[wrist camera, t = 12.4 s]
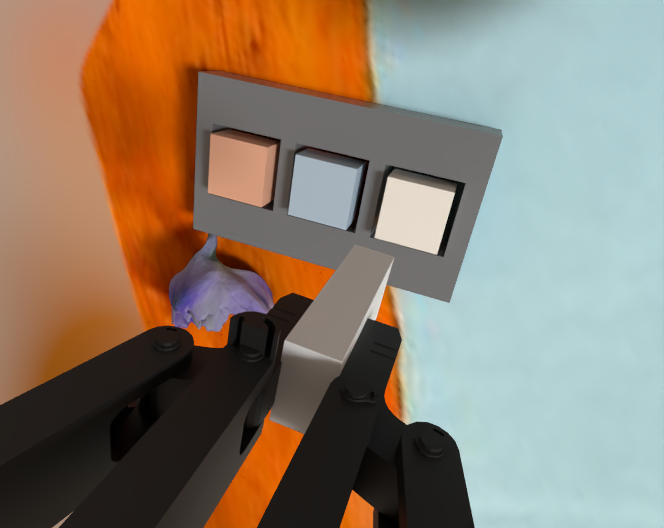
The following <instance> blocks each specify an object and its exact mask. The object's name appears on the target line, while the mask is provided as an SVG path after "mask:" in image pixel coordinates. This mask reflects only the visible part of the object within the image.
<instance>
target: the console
mask: <svg viewBox="0 0 664 528" xmlns="http://www.w3.org/2000/svg"><path fill="white" fill-rule="evenodd" d="M232 128H234V129H239V130H243V131H247V132H251V133H256V134H260V135H264V136H268V137H273V138H277V139H281V145H280V154H279V163H278V172H277V181H276V189H275V198H274V200H272V201H271V202H269V203H267V204H266V205H264V206H263V207H258V206H254V205H251V204H247V203H243V202H240V201H236V200H232V199H228V198H225V197H221V196H217V195H214V194H210V193H208V178H209V157H210V136H211V134H212V133H216V132H219V131H223V130H227V129H230V130H232ZM502 137H503V136H502V130H499V129H494V128H490V127H485V126H480V125H475V124H471V123H466V122H461V121H456V120H452V119H447V118H442V117H437V116H433V115H428V114H423V113H418V112H414V111H409V110H404V109H399V108H395V107H390V106H385V105H380V104H376V103H371V102H366V101H361V100H357V99H352V98H347V97H342V96H338V95H333V94H328V93H323V92H319V91H314V90H309V89H304V88H300V87H295V86H290V85H285V84H281V83H276V82H271V81H266V80H262V79H257V78H252V77H247V76H243V75H238V74H233V73H228V72H224V71H201V72H198V100H197V129H196V158H195V187H194V217H193V229H196V230H199V231H203V232H206V233H210V234H213V235H217V236H220V237H223V238H227V239H230V240H234V241H237V242H241V243H244V244H248V245H251V246H255V247H258V248H262V249H265V250H268V251H272V252H275V253H279V254H282V255H286V256H289V257H293V258H296V259H300V260H303V261H307V262H310V263H313V264H317V265H320V266H324V267H327V268H331V269H334V270H337V268H338V267H339V266H340V264H341V263H342V262H343V260H344V259H345V257H346V256H347V255H348V253H349V252H350V251H351V249H352V248H353V247H354V245H355V244H356V245H359V246H362V247H365V248H369V249H372V250H375V251H378V252H381V253H384V254H387V255H390V256H393V257H394V260H393V264H392V267H391V270H390V274H389V277H388V280H387V284H386V285H390V286H393V287H396V288H400V289H403V290H407V291H410V292H414V293H417V294H421V295H424V296H428V297H431V298H435V299H438V300H441V301H445V302H448V303H449V302H450V299H451V296H452V293H453V290H454V287H455V284H456V281H457V277H458V274H459V271H460V268H461V265H462V262H463V259H464V255H465V252H466V249H467V246H468V243H469V240H470V237H471V234H472V230H473V227H474V224H475V221H476V218H477V215H478V212H479V209H480V205H481V202H482V199H483V196H484V193H485V190H486V187H487V184H488V180H489V177H490V174H491V171H492V168H493V165H494V162H495V159H496V155H497V152H498V149H499V146H500V143H501V140H502ZM309 146H311V147H315V148H319V149H323V150H328V151H332V152H336V153H340V154H344V155H349V156H353V157H357V158H361V159H366V160H370V162H369V167H368V172H367V177H366V182H365V187H364V192H363V197H362V202H361V207H360V212H359V217H358V219H355V220H354V221H353V222H352V223H351V225H350V226H349V227H348V228H347V229H346V230H343V229H340V228H336V227H332V226H329V225H325V224H321V223H317V222H314V221H310V220H306V219H303V218H299V217H295V216H291V215H288V210H289V203H290V195H291V187H292V179H293V172H294V164H295V156H296V154H298V153H300V152H302V151H304V150H306V149H308V148H309ZM391 166H395V167H399V168H404V169H408V170H412V171H416V172H421V173H425V174H429V175H433V176H438V177H442V178H446V179H450V180H455V181H459V182H463V183H465V184H464V188H463V191H462V194H461V198H460V201H459V204H458V208H457V211H456V215H455V218H454V221H453V225H452V228H451V231H450V235H449V238H448V241H447V243H446V242H442V241H441V243H440V246H439V250H438V253H437V255H436V254H432V253H429V252H425V251H421V250H417V249H414V248H410V247H406V246H403V245H399V244H395V243H391V242H388V241H384V240H380V239H377V238H375V233H376V229H377V224H378V220H379V215H380V211H381V206H382V202H383V197H384V192H385V188H386V183H387V179H388V176H389V174H390V170H391Z"/></svg>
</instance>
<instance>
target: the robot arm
mask: <svg viewBox="0 0 664 528" xmlns="http://www.w3.org/2000/svg"><path fill="white" fill-rule="evenodd" d="M393 260H394V257H393V256H390V255H387V254H384V253H381V252H378V251H375V250H372V249H369V248H365V247H362V246H359V245H356V244H355V245H354V247H353V248H352V249H351V251H350V252H349V253H348V255H347V256H346V257H345V259H344V260H343V262H342V263H341V264H340V266H339V267H338V268H337V270H336V271H335V272H334V274H333V275H332V276H331V278H330V279H329V281H328V282H327V283H326V285H325V286H324V287H323V289H322V290H321V291H320V293H319V294H318V295H317V297H316V298H315V300H312V299H309V298H306V297H304V296H301V295H298V294H295V293H291V294H289V295H286V296H284V297H282V298H280V299H279V300H278V301H277V303H276V304H275V305H274V306H273V308H271V309H270V310H269V312H268V313H267V314H265V313H260V312H256V311H246V312H242V313H238V314H236V315H234V316H233V317H231V318H230V327H229V335H228V343H227V345H226V346H225V347H224V348H209V347H202V346H194V340H193V337H192V335H191V334H190V333H189V332H188V331H187V330H184V329H182V328H179V327H174V326H160V327H156V328H153V329H150V330H147V331H145V332H143V333H142V334H140V335H138V336H136V337H134V338H132V339H130V340H128V341H126V342H124V343H122V344H120V345H118V346H116V347H114V348H112V349H110V350H108V351H106V352H104V353H102V354H100V355H98V356H96V357H94V358H92V359H90V360H89V361H86V362H84V363H82V364H80V365H78V366H77V367H75V368H73V369H71V370H69V371H67V372H65V373H63V374H61V375H59V376H57V377H55V378H53V379H51V380H49V381H47V382H45V383H43V384H41V385H39V386H37V387H35V388H33V389H31V390H29V391H27V392H26V393H23V394H21V395H20V396H17V397H15V398H14V399H12V400H10V401H8V402H6V403H4V404H2V405H0V528H52V527H53V526H55V525H56V524H57V523H59V522H60V521H61V520H62V519H64V518H65V517H66V516H68V515H69V514H70V513H72V512H73V511H74V510H75V511H74V512H73V513H72V514H71V515H70V516H69V517H68V518H67V519H66V520H65V522H64V523H63V524H62V525H61V526H60V527H59V528H203V527H204V526H205V524H206V522H207V521H208V519H209V518H210V516H211V514H212V513H213V511H214V509H215V508H216V506H217V505H218V503H219V501H220V500H221V498H222V496H223V495H224V493H225V492H226V490H227V488H228V487H229V485H230V483H231V482H232V480H233V478H234V477H235V475H236V474H237V472H238V470H239V469H240V467H241V465H242V464H243V462H244V461H245V459H246V457H247V456H248V454H249V452H250V451H251V449H252V447H253V446H254V444H255V443H256V441H257V439H258V438H259V436H260V434H261V432H262V428H263V424H264V418H265V417H266V415H267V414H268V412H269V411H270V409H271V407H272V409H271V414H270V419H269V420H271V421H274V422H276V423H279V424H281V425H283V426H286V427H288V428H291V429H293V430H296V431H298V432H300V433H303V434H304V436H303V438H302V440H301V442H300V444H299V446H298V448H297V450H296V452H295V454H294V456H293V458H292V460H291V462H290V464H289V466H288V468H287V470H286V471H285V473H284V475H283V477H282V479H281V481H280V483H279V485H278V487H277V489H276V491H275V493H274V495H273V497H272V499H271V501H270V503H269V505H268V507H267V509H266V511H265V513H264V515H263V517H262V519H261V521H260V523H259V525H258V527H257V528H339V527H340V524H341V521H342V518H343V515H344V512H345V509H346V506H347V503H348V501H349V498H350V495H351V492H352V490H353V491H355V492H356V493H357V494H358V495H359V496H361V497H362V498H363V499H364V500H365V501H367V502H368V503H369V504H370V505H371V506H373V507H374V511H373V528H474V523H473V518H472V513H471V508H470V503H469V498H468V493H467V488H466V483H465V478H464V473H463V468H462V463H461V458H460V453H459V449H458V447H457V445H456V442H455V441H454V439H453V438H452V437H451V436H450V435H449V434H448V433H447V432H446V431H444V430H443V429H441V428H440V427H439V426H436V425H433V424H431V423H428V422H415V423H412V424H409V425H406V424H405V423H403V422H402V421H400V420H399V419H398V418H397V417H396V416H394V415H393V414H392V412H391V411H390V410H389V409H388V407H387V405H386V403H385V398H384V394H385V389H386V386H387V383H388V380H389V377H390V374H391V371H392V368H393V365H394V362H395V359H396V356H397V353H398V350H399V347H400V344H401V341H402V339H401V336H400V333H399V330H398V328H395V327H392V326H389V325H386V324H383V323H380V322H378V321H375V320H376V317H377V314H378V311H379V307H380V304H381V301H382V297H383V294H384V290H385V287H386V284H387V280H388V277H389V274H390V270H391V267H392V264H393Z"/></svg>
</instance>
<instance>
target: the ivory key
mask: <svg viewBox="0 0 664 528" xmlns="http://www.w3.org/2000/svg"><path fill="white" fill-rule="evenodd" d="M456 187H457V183H454V182H449V181H445V180H441V179H437V178H433V177H428V176H424V175H420V174H416V173H411V172H407V171H403V170H399V169H394V170H393V171H392V173H391V174H390V175H389V176H388V179H387V183H386V188H385V192H384V197H383V202H382V206H381V211H380V215H379V220H378V224H377V229H376V233H375V238H377V239H380V240H384V241H388V242H391V243H395V244H399V245H403V246H406V247H410V248H414V249H417V250H421V251H425V252H429V253H432V254H436V255H437V253H438V250H439V246H440V243H441V239H442V236H443V232H444V229H445V226H446V222H447V219H448V215H449V212H450V208H451V205H452V201H453V198H454V195H455V191H456Z"/></svg>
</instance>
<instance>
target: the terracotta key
mask: <svg viewBox="0 0 664 528" xmlns="http://www.w3.org/2000/svg"><path fill="white" fill-rule="evenodd" d="M280 145H281V141H277V140H272V139H268V138H264V137H260V136H255V135H251V134H247V133H243V132H239V131H234V130H230V129H227V130H223V131H219V132H216V133H212V134H211V136H210V157H209V178H208V193H210V194H214V195H217V196H221V197H225V198H228V199H232V200H236V201H240V202H243V203H247V204H251V205H254V206H258V207H263V206H264V205H266V204H267V203H269V202H271V201H272V200H274V198H275V189H276V181H277V172H278V163H279V154H280Z"/></svg>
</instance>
